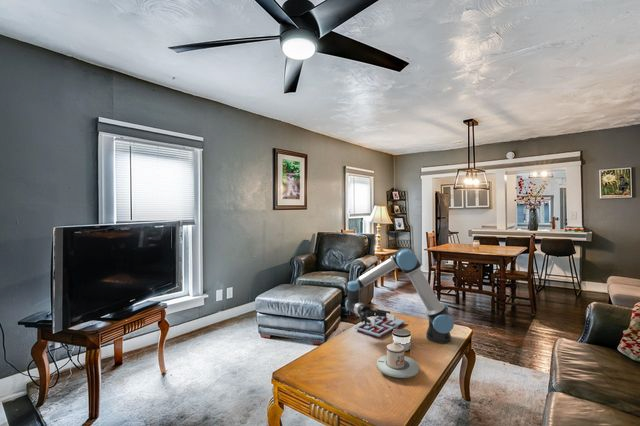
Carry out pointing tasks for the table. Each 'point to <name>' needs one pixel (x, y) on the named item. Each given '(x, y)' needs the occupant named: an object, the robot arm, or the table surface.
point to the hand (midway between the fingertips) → (384, 321)
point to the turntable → (407, 371)
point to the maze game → (379, 326)
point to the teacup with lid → (395, 355)
